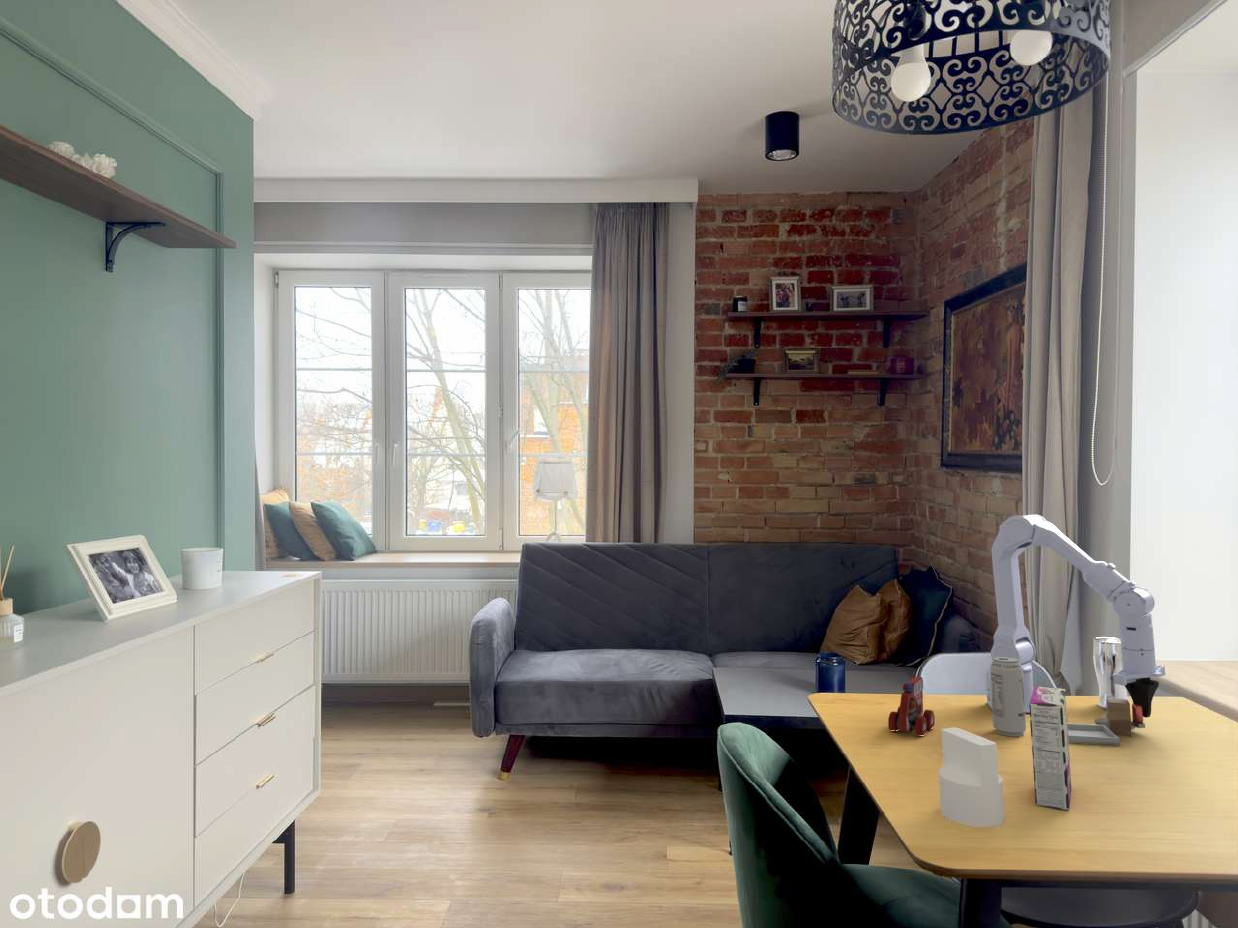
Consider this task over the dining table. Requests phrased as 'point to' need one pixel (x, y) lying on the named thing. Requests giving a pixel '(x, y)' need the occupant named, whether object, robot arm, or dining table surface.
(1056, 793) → the candy bar box
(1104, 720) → the crank hub
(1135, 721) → the crank
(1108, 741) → the tray
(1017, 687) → the energy drink can
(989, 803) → the base with upright slab
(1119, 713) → the block
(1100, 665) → the beer glass
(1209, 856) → the dining table surface
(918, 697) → the toy fire truck
